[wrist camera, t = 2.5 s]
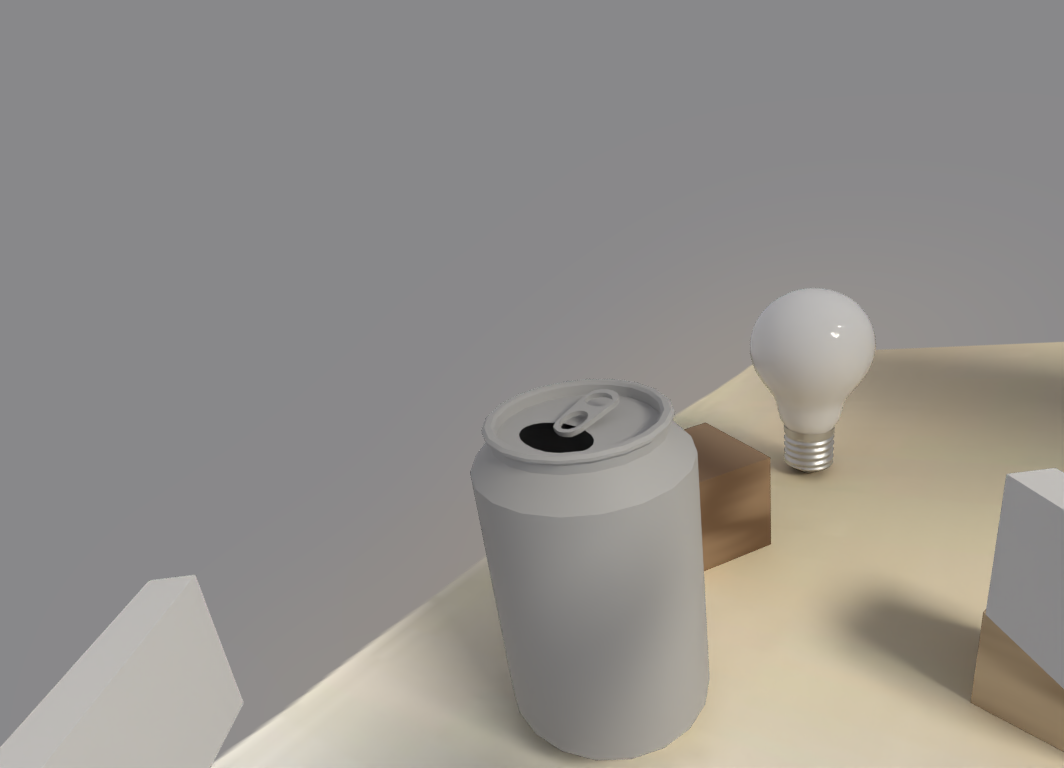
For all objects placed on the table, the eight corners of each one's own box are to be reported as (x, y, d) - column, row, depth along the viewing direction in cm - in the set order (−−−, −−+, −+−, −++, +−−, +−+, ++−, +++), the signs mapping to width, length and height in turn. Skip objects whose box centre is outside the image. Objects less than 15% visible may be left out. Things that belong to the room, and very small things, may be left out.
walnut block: (709, 501, 35) (705, 422, 33) (770, 545, 31) (770, 457, 29) (633, 528, 34) (625, 448, 32) (686, 579, 29) (681, 489, 27)
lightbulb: (874, 453, 37) (884, 275, 33) (861, 506, 32) (871, 305, 29) (766, 439, 41) (764, 277, 37) (739, 486, 36) (734, 304, 32)
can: (478, 693, 24) (417, 423, 20) (605, 595, 29) (576, 356, 25) (618, 828, 19) (573, 492, 15) (750, 681, 23) (743, 390, 19)
